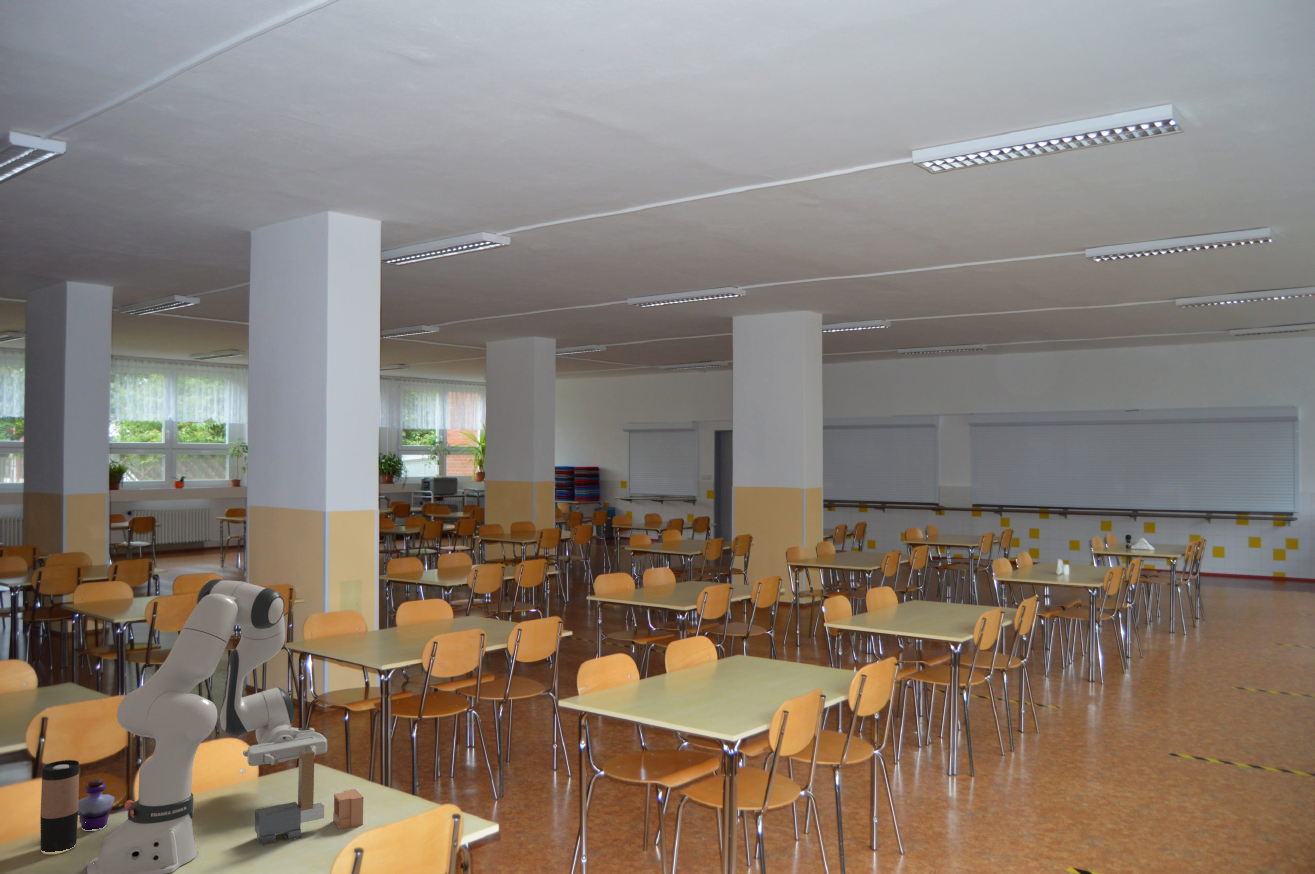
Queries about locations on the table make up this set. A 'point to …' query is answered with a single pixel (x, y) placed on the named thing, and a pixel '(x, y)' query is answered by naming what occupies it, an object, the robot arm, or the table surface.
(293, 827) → the sleeve
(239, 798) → the table surface
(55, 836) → the travel mug
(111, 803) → the potion bottle
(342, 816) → the socket block
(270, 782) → the table surface
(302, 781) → the upright mallet
